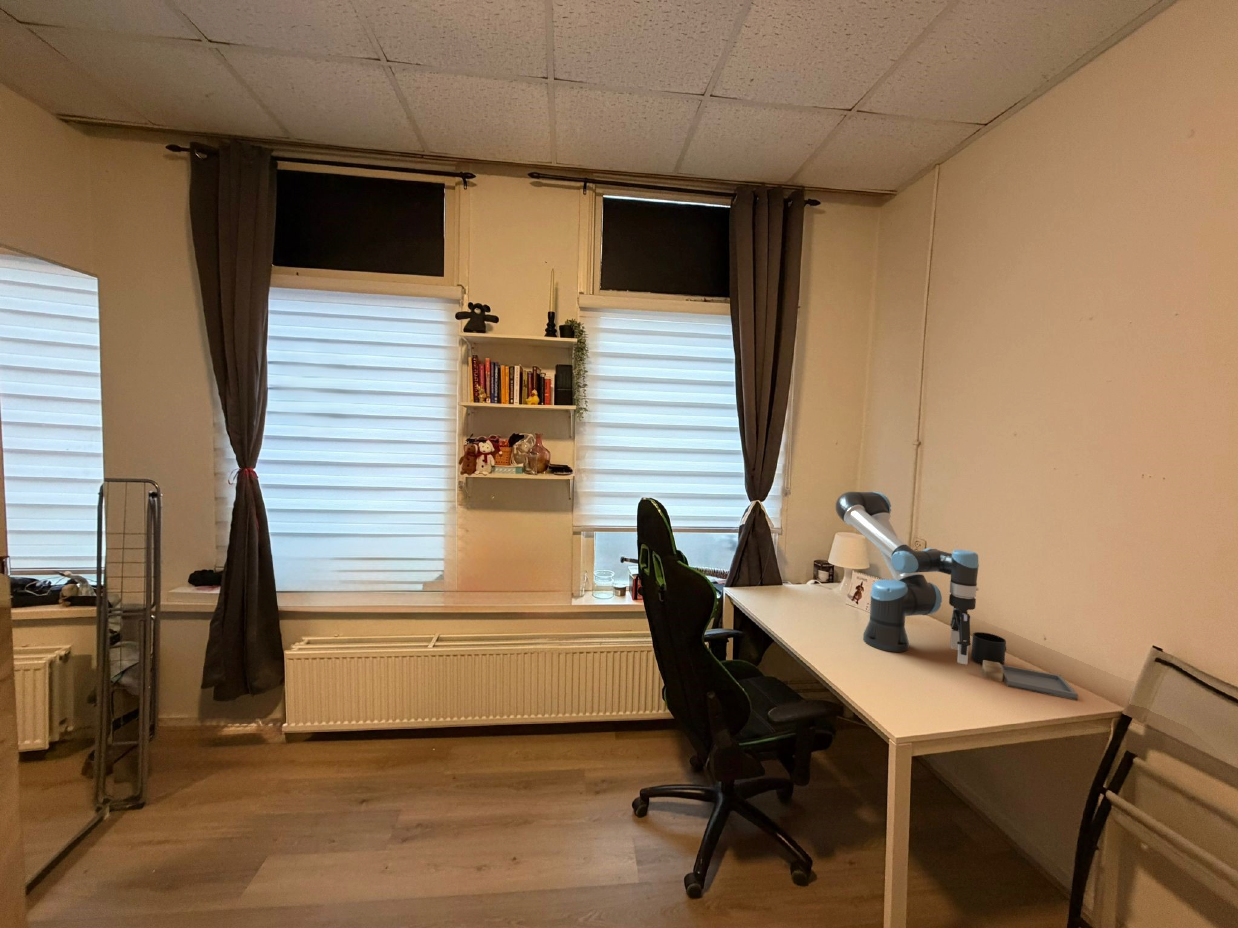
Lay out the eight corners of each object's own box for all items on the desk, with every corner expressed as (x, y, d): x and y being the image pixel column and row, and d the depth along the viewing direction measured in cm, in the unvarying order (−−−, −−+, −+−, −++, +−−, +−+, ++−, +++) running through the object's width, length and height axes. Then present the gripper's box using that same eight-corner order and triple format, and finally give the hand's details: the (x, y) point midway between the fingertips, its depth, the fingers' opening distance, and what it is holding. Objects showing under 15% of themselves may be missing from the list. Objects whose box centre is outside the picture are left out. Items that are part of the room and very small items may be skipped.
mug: (1017, 667, 173) (1019, 641, 172) (987, 668, 171) (989, 642, 170) (992, 655, 182) (994, 631, 182) (964, 656, 180) (966, 632, 180)
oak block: (985, 678, 164) (986, 664, 163) (982, 672, 168) (983, 659, 167) (1002, 681, 162) (1003, 668, 161) (998, 676, 166) (999, 662, 166)
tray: (1007, 686, 158) (1008, 680, 158) (996, 668, 171) (996, 663, 171) (1077, 700, 151) (1077, 694, 151) (1059, 680, 164) (1060, 675, 164)
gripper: (984, 607, 160) (979, 672, 161) (968, 588, 183) (964, 645, 184) (956, 603, 163) (952, 667, 164) (944, 585, 186) (940, 641, 187)
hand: (958, 655), depth 174 cm, fingers open, 13 cm apart
